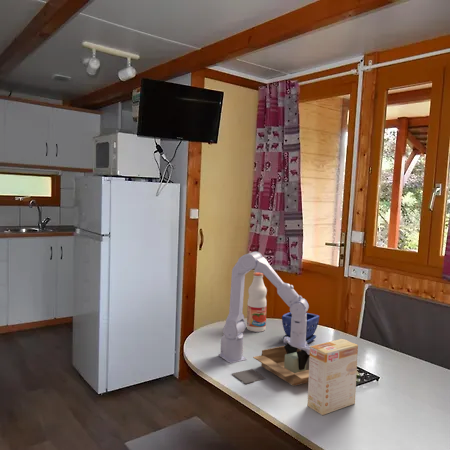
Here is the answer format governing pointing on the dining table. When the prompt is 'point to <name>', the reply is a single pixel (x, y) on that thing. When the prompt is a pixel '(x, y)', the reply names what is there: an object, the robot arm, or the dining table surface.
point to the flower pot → (310, 329)
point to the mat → (248, 376)
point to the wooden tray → (281, 366)
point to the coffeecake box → (332, 376)
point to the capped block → (294, 363)
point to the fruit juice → (257, 304)
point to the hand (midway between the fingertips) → (296, 366)
